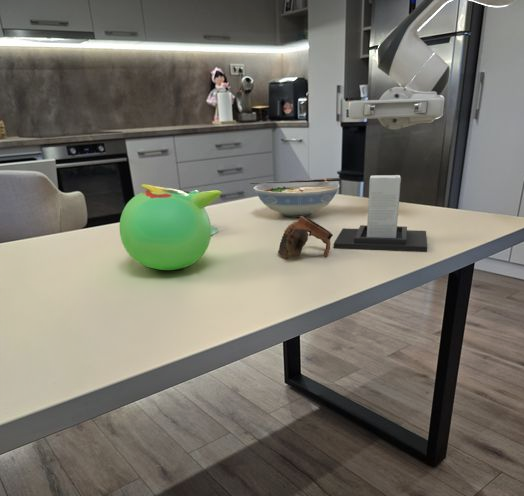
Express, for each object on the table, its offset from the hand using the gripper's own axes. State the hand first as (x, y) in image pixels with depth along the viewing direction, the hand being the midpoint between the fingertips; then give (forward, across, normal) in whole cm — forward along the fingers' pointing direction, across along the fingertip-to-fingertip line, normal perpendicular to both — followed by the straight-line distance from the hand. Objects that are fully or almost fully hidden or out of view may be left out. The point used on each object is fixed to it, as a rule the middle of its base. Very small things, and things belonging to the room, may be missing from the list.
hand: (394, 108), depth 100 cm
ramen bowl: (-15, -24, +25) cm, 38 cm away
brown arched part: (+26, -14, +25) cm, 39 cm away
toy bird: (+37, -36, +25) cm, 57 cm away
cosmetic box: (+12, 0, +24) cm, 27 cm away
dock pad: (+12, 0, +25) cm, 28 cm away
